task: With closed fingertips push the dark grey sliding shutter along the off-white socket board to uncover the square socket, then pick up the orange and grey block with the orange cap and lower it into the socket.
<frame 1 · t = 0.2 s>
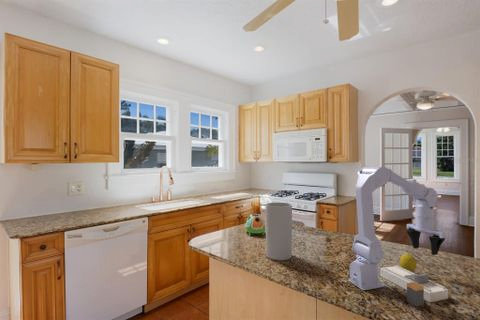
hand: (424, 251, 102), 10 cm above the countertop, fingers open, 7 cm apart
shutter: (416, 276, 92), point 5 cm above the countertop, slide at 0.0 cm
lemon: (407, 273, 105), on the countertop
turtle holder: (254, 233, 164), on the countertop
socket board: (421, 291, 90), on the countertop
cylinder vase: (278, 256, 124), on the countertop
orange and grey block: (415, 303, 83), on the countertop
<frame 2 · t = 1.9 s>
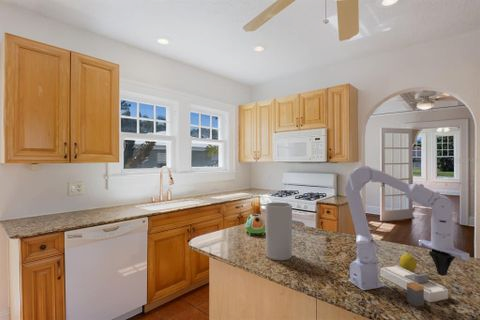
hand: (442, 274, 83), 9 cm above the countertop, fingers closed
nothing on the countertop moved.
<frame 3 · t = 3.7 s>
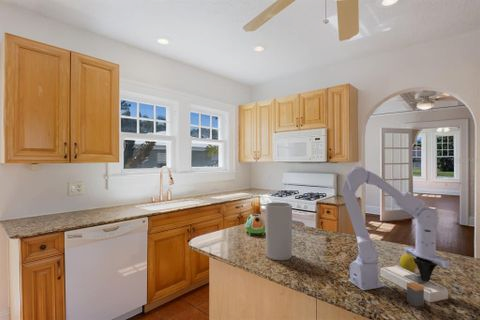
hand: (425, 280, 89), 5 cm above the countertop, fingers closed
shutter: (415, 275, 92), point 5 cm above the countertop, slide at 0.1 cm, touching gripper
everything else where it was.
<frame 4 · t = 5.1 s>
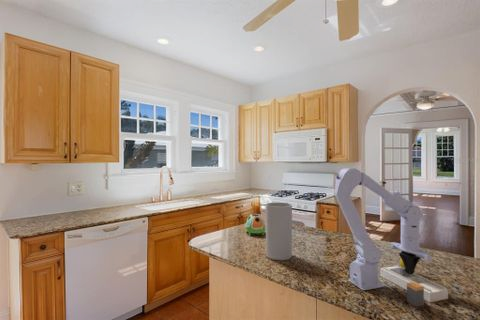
hand: (409, 273, 94), 5 cm above the countertop, fingers closed
shutter: (401, 269, 98), point 5 cm above the countertop, slide at 6.1 cm, touching gripper
everything else where it was.
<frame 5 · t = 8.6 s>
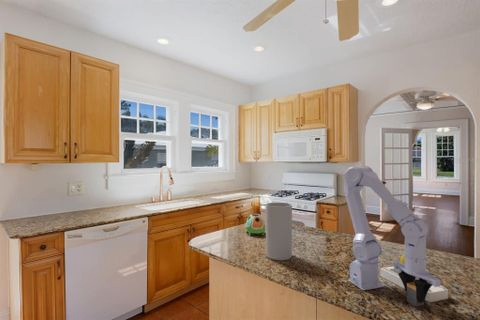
hand: (415, 298, 83), 1 cm above the countertop, fingers closed on orange and grey block, 3 cm apart
shutter: (401, 269, 98), point 5 cm above the countertop, slide at 6.1 cm
orange and grey block: (415, 303, 83), on the countertop, touching gripper
everything else where it was.
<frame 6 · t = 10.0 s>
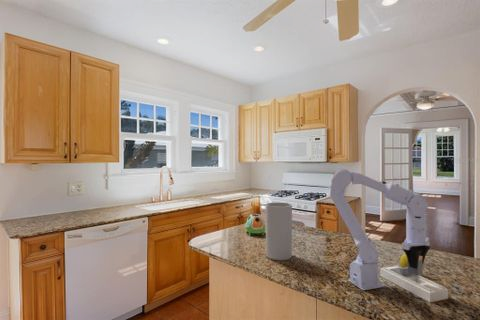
hand: (416, 266, 90), 9 cm above the countertop, fingers closed on orange and grey block, 3 cm apart
orange and grey block: (415, 272, 90), point 7 cm above the countertop, touching gripper
everything else where it was.
when the fingers open (4 cm above the countertop, at t = 11.7 s): orange and grey block drops 1 cm, resting in socket board.
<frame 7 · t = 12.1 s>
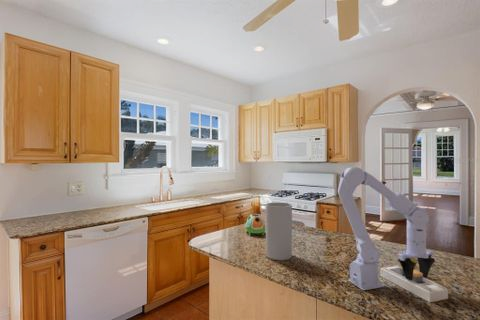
hand: (416, 277, 92), 4 cm above the countertop, fingers open, 6 cm apart
orange and grey block: (415, 288, 92), resting in socket board
everything else where it was.
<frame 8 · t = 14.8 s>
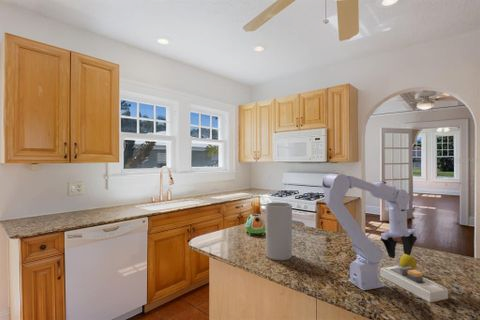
hand: (399, 255, 97), 10 cm above the countertop, fingers open, 7 cm apart
nothing on the countertop moved.
at the end: orange and grey block 0.4 cm from the target spot on the socket board, point 0.0 cm above the socket board's base; shutter slide at 6.1 cm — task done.
